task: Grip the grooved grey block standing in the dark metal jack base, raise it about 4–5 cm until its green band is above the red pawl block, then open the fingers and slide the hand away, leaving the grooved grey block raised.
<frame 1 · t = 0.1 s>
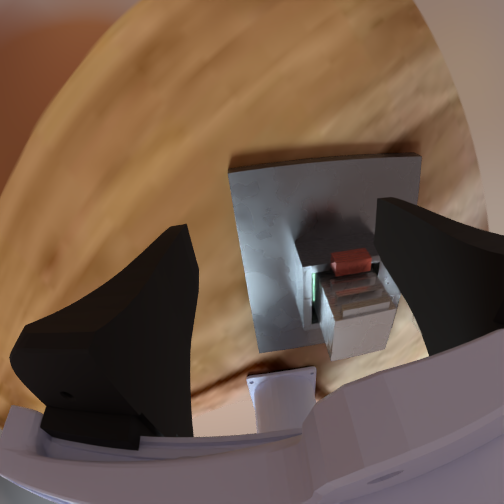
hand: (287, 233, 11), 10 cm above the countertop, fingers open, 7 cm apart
grooved grey block: (347, 298, 20), point 5 cm above the countertop, slide at 0.0 cm
jack base: (330, 263, 24), on the countertop
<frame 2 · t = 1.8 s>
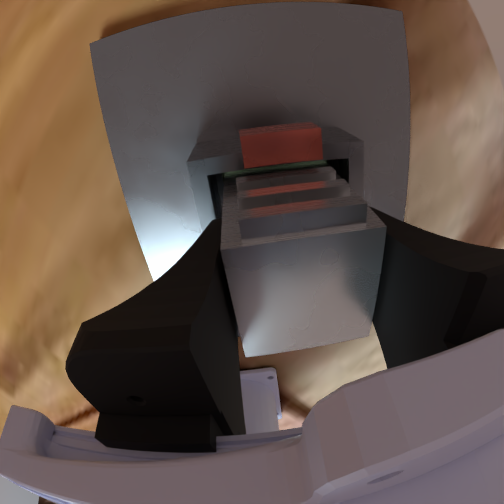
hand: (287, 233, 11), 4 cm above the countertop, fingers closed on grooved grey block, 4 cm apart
grooved grey block: (287, 230, 11), point 5 cm above the countertop, slide at 0.0 cm, touching gripper
jack base: (272, 190, 15), on the countertop
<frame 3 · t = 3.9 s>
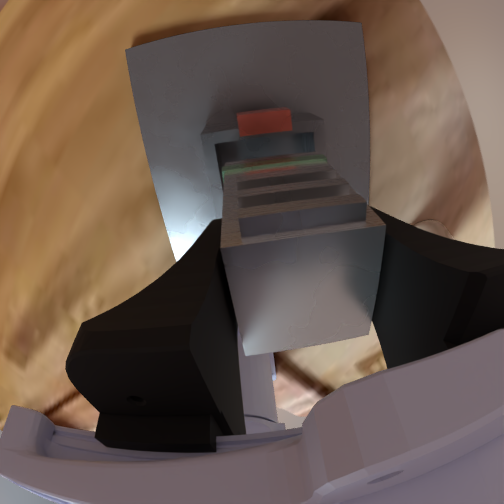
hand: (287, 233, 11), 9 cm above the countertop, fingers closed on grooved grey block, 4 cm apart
grooved grey block: (287, 229, 11), point 10 cm above the countertop, slide at 4.9 cm, touching gripper
jack base: (262, 162, 19), on the countertop
white tall cup: (420, 248, 24), on the countertop
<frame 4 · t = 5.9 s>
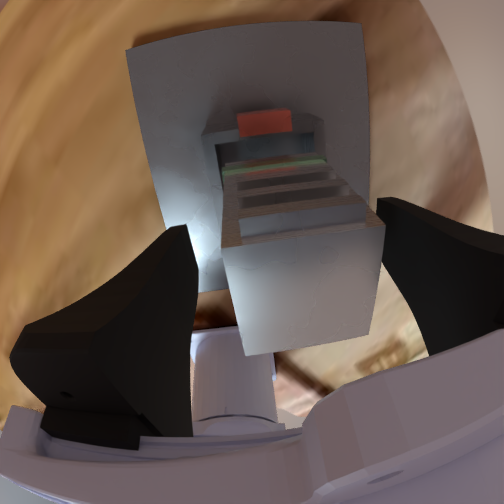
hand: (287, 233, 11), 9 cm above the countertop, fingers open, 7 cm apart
grooved grey block: (287, 229, 11), point 10 cm above the countertop, slide at 4.9 cm
jack base: (262, 162, 19), on the countertop
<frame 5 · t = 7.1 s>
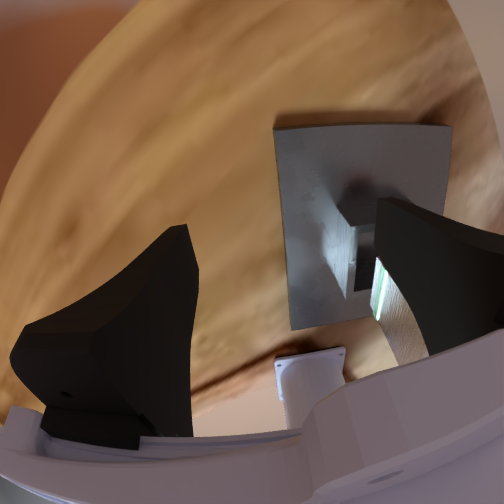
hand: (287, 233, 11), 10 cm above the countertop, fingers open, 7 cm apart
grooved grey block: (423, 309, 15), point 10 cm above the countertop, slide at 4.9 cm
jack base: (367, 232, 23), on the countertop
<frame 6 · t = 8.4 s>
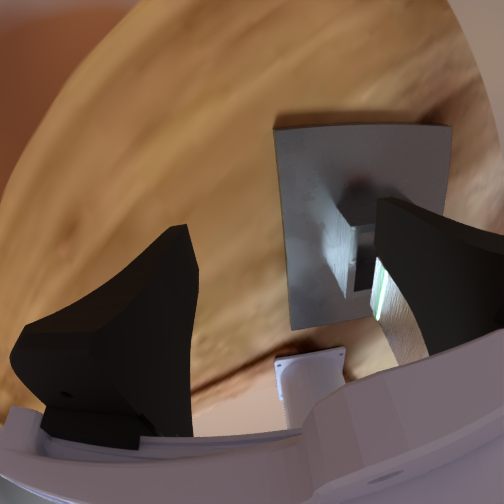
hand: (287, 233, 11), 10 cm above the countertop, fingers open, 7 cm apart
grooved grey block: (423, 309, 15), point 10 cm above the countertop, slide at 4.9 cm
jack base: (367, 232, 23), on the countertop
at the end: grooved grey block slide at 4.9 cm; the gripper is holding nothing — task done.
